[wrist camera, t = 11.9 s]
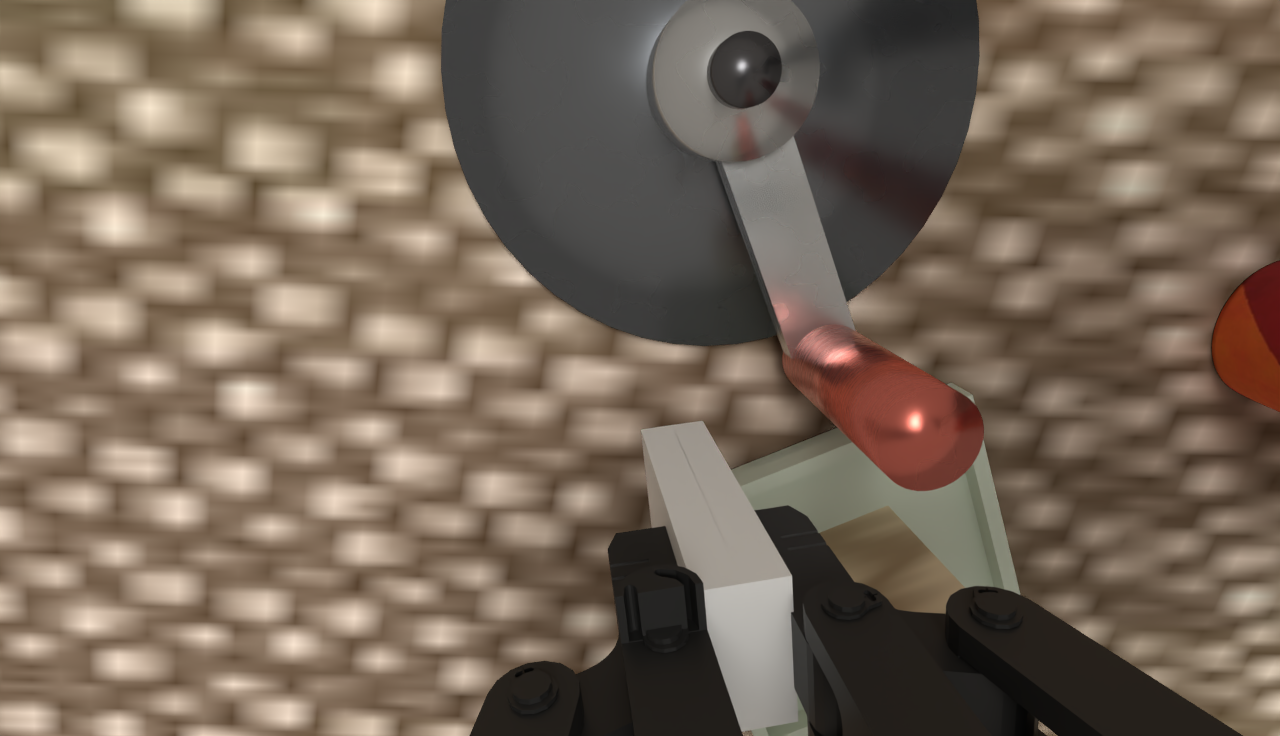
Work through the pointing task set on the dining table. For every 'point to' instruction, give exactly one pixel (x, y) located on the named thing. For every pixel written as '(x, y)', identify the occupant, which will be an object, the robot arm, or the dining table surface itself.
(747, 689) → the robot arm
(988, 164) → the dining table surface
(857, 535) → the block
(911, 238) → the base plate
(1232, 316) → the coffee cup
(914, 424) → the crank
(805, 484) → the tray
